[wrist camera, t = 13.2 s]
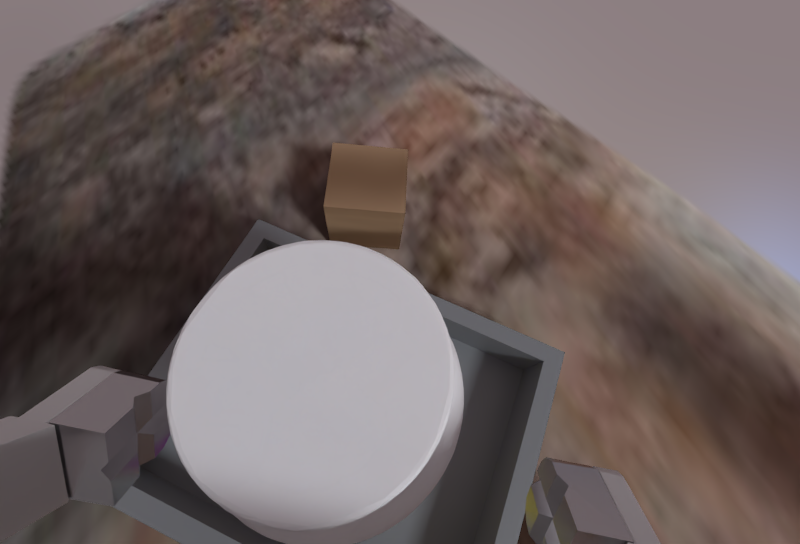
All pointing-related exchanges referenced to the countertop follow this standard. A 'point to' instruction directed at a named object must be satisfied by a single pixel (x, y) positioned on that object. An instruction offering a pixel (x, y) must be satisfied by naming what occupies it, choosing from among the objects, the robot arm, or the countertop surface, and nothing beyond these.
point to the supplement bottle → (316, 393)
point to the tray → (466, 472)
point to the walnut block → (366, 195)
